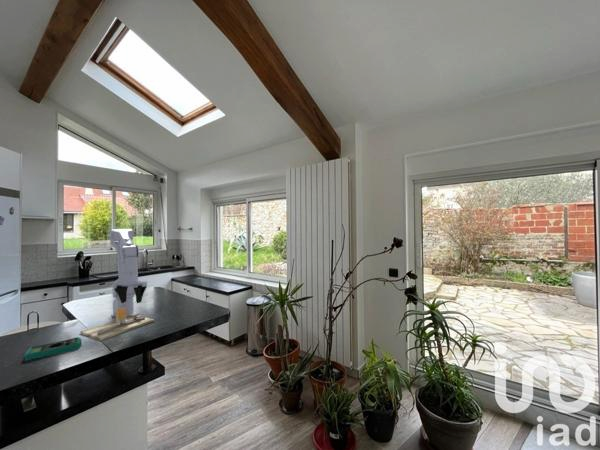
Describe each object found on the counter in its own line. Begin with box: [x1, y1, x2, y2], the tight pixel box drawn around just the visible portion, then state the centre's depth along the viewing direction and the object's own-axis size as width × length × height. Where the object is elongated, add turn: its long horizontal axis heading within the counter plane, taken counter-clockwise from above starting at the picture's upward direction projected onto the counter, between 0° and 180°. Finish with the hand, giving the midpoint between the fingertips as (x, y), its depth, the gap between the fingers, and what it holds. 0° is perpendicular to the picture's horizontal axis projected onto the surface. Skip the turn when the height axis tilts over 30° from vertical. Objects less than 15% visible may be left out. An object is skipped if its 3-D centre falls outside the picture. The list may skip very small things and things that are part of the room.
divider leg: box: [115, 308, 129, 324], centre depth 118 cm, size 6×3×7 cm, turn 62°
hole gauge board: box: [79, 312, 155, 342], centre depth 118 cm, size 16×22×4 cm
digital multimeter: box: [24, 336, 83, 362], centre depth 96 cm, size 7×15×3 cm, turn 128°
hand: (131, 302), depth 119 cm, fingers open, 7 cm apart
